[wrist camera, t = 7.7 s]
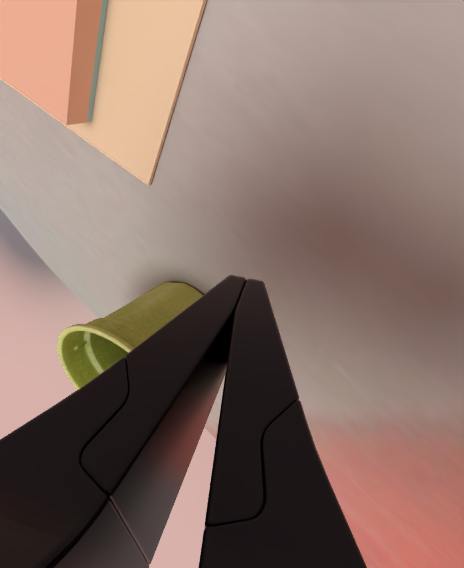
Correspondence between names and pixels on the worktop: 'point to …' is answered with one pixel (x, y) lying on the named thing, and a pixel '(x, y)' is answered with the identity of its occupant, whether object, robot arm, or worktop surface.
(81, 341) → the plant pot
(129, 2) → the cork mat
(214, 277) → the worktop surface
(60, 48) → the tile
